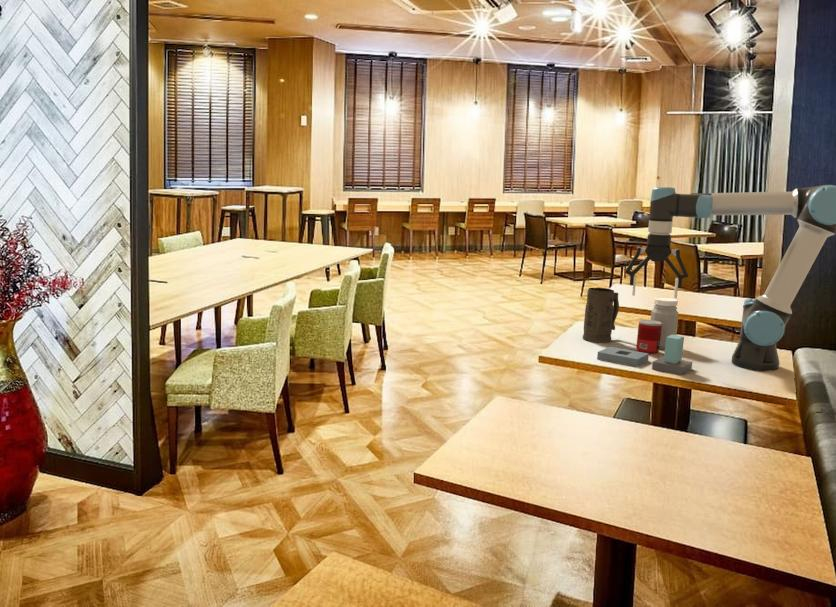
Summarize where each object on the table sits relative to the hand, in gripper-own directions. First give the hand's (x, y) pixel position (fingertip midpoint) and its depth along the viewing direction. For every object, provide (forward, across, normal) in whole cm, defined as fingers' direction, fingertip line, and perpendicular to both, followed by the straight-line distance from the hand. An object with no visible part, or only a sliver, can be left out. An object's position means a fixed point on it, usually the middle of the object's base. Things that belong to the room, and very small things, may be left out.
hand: (654, 296), depth 265 cm
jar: (+23, -5, -26) cm, 35 cm away
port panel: (+22, +9, +2) cm, 24 cm away
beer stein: (+22, +17, -29) cm, 41 cm away
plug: (+23, -7, +8) cm, 25 cm away
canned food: (+23, 0, -15) cm, 27 cm away
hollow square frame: (+23, -7, +8) cm, 25 cm away
